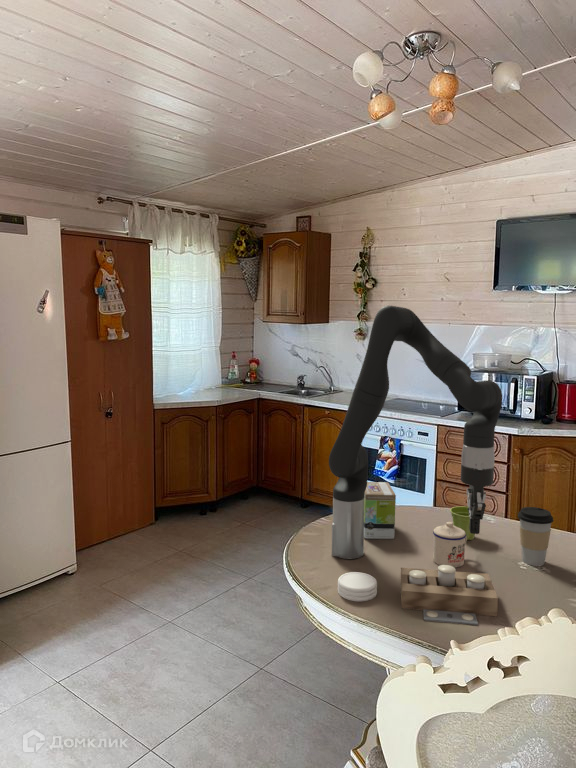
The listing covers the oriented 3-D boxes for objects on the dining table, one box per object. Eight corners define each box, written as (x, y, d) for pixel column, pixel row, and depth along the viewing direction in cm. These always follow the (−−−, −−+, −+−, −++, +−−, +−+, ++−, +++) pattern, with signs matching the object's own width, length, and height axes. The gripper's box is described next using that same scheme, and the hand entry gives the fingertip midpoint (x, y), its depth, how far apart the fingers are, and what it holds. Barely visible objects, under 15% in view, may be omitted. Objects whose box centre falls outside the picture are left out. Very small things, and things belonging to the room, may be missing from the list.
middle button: (438, 587, 138) (438, 571, 138) (436, 579, 143) (437, 564, 142) (456, 588, 138) (456, 572, 137) (454, 580, 142) (454, 565, 141)
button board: (401, 608, 136) (401, 590, 136) (400, 583, 149) (400, 567, 148) (497, 616, 132) (497, 598, 132) (487, 590, 145) (488, 573, 145)
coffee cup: (551, 558, 165) (553, 508, 163) (551, 571, 156) (553, 519, 154) (516, 552, 169) (518, 504, 167) (514, 565, 160) (516, 514, 158)
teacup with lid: (451, 571, 156) (452, 530, 155) (425, 560, 164) (426, 521, 162) (477, 560, 163) (479, 521, 162) (452, 550, 170) (453, 513, 169)
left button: (409, 592, 140) (409, 576, 139) (408, 584, 144) (408, 569, 144) (426, 593, 139) (426, 578, 139) (425, 585, 143) (425, 570, 143)
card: (424, 620, 131) (424, 617, 131) (422, 610, 135) (422, 608, 135) (478, 625, 129) (478, 622, 128) (475, 615, 133) (475, 612, 133)
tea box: (395, 539, 179) (396, 494, 178) (363, 539, 179) (364, 494, 178) (387, 522, 194) (388, 480, 192) (358, 522, 194) (359, 480, 193)
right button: (467, 596, 137) (468, 581, 137) (465, 588, 142) (465, 573, 141) (485, 598, 137) (486, 582, 136) (482, 590, 141) (483, 574, 140)
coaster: (376, 604, 139) (376, 590, 138) (336, 600, 140) (336, 587, 140) (377, 585, 148) (377, 572, 148) (339, 582, 150) (339, 569, 150)
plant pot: (483, 535, 182) (484, 509, 181) (475, 545, 174) (476, 518, 174) (454, 529, 187) (454, 504, 186) (445, 539, 179) (446, 512, 178)
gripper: (458, 456, 143) (455, 522, 145) (465, 469, 130) (461, 542, 132) (489, 457, 141) (485, 524, 143) (499, 471, 128) (495, 544, 131)
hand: (474, 532), depth 138 cm, fingers closed
